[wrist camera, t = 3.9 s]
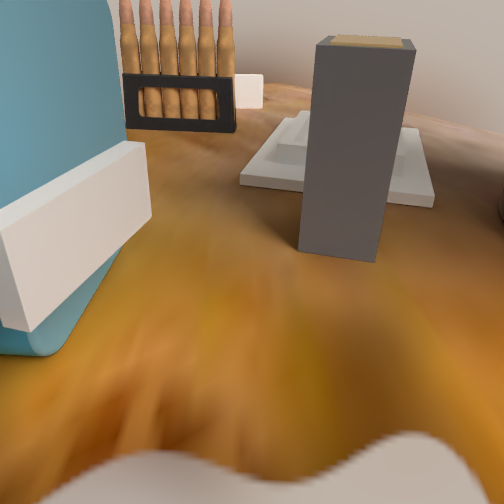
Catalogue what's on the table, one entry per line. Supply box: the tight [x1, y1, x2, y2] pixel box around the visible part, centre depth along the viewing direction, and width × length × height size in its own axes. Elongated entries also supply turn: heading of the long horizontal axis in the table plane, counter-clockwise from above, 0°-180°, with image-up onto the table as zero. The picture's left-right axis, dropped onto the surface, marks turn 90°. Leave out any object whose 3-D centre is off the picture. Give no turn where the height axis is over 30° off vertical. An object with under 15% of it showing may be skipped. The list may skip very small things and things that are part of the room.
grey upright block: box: [298, 35, 416, 263], centre depth 23 cm, size 4×5×10 cm
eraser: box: [235, 74, 263, 108], centre depth 51 cm, size 1×5×4 cm, turn 96°
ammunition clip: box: [119, 0, 236, 133], centre depth 41 cm, size 11×2×12 cm, turn 86°
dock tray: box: [240, 110, 435, 208], centre depth 36 cm, size 13×17×4 cm
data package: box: [0, 0, 127, 356], centre depth 18 cm, size 12×4×12 cm, turn 177°
